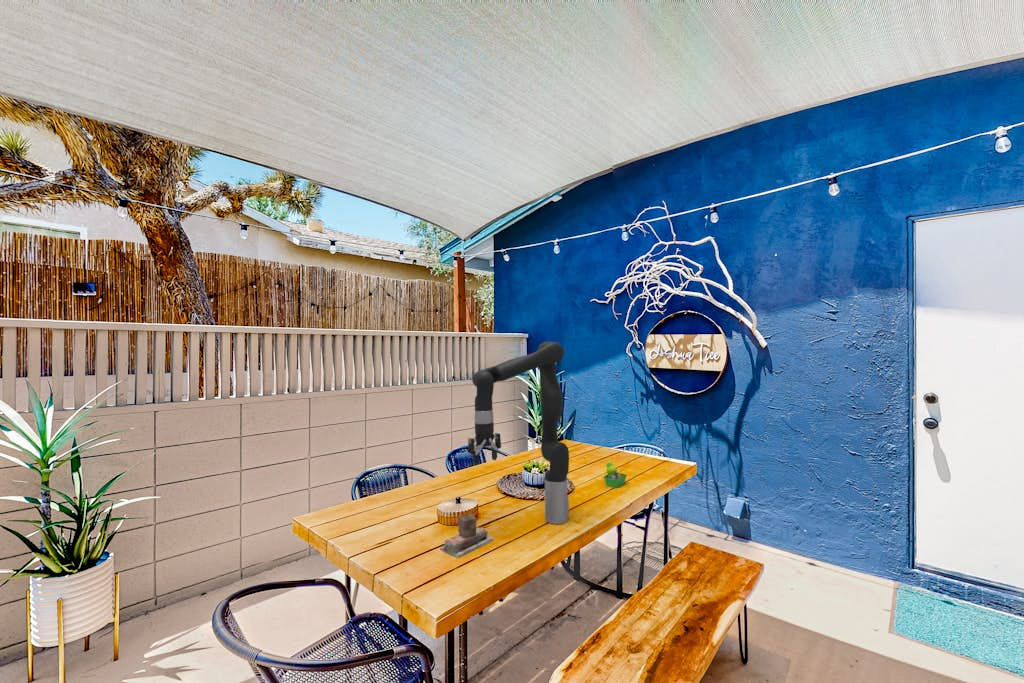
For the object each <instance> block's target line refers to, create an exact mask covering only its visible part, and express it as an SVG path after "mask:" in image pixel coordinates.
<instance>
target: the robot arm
mask: <svg viewBox="0 0 1024 683" xmlns="http://www.w3.org/2000/svg"><path fill="white" fill-rule="evenodd" d="M564 356H565V349H564V347H563V346H562V344H560V343H559V342H556V341H543V342H541V343H540V344H539V345H538V348H537V351H534V352H532V353H529V354H526V355H523V356H518V357H515V358H512V359H508V360H506V361H504V362H501V363H499V364H496V365H494V366H490V367H486V368H483V369H481V370H478V371H476V372H475V373H474V374H473V376H472V380H471V381H472V384H473V385H474V387H476V396H475V397H474V434H475V437H469V438H468V440H467V441H468V442H467V444H468V445H467V447H468V448H467V449H468V450H467V452H468V454H470V455H472V460H473V461H472V462H473V463H474V464H475V465H479V464H480V463H479V462H480V461H479V453H480V451H481V450H482V449H484V448H486V447H489V448H490V449H491V460H493V461H496V460H497V458H498V449H501V448H502V440H501V433H498V432H495V433H494V431H495V428H494V427H495V424H494V423H495V422H494V412H493V409H494V408H493V395H494V388H495V387H494V386H495V383H497V382H504V381H507V380H509V379H512V378H515V377H516V376H519V375H521V374H524V373H525V372H528V371H531V370H533V369H537V368H538V370H539V380H540V381H539V385H540V386H539V387H540V409H541V410H540V411H541V440H540V441H541V443H540V444H541V445H540V451H541V455H542V458H543V459H544V460H545V461H547V462H549V469H548V470H546V471H545V472H544V520H546V521H547V522H546V521H545V522H546V523H548V522H549V523H548V524H551V523H553V524H552V525H560V524H561V523H563V524H565V523H567V521H568V520H570V516H569V515H570V508H569V506H570V504H569V497H568V494H567V493H568V491H567V490H568V486H567V484H568V482H567V481H568V479H567V478H568V474H569V470H570V468H569V467H570V466H569V465H570V450H569V448H568V446H567V445H566V443H564V442H561V441H559V439H558V424H559V422H560V419H561V417H562V415H563V414H562V413H563V411H564V408H563V407H564V406H563V404H564V402H563V392H562V388H561V386H560V383H559V381H558V376H557V372H556V364H557V363H559V362H560V361H561V360H563V358H564ZM567 519H568V520H567ZM564 522H565V523H564ZM561 525H562V524H561Z"/></svg>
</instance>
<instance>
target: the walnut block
mask: <svg viewBox="0 0 1024 683" xmlns="http://www.w3.org/2000/svg"><path fill="white" fill-rule="evenodd" d="M457 526H458V527H457V528H458V534H461V536H462V537H463V538H465V537H469V536H474V535H476V527H477V518H476V517H475V516H474V515H473V513H467V514H462V515H459V516H458V525H457Z"/></svg>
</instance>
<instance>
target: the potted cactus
mask: <svg viewBox="0 0 1024 683" xmlns="http://www.w3.org/2000/svg"><path fill="white" fill-rule="evenodd" d="M606 473H607V474H606V475H603V479H604V482H605V486H606V487H609V488H612V487H613V489H616V488H619V487H621V486H623V485H625V483H626V479H627V477H628V476H627V474H625V473H621V472H618V467H616V466H615V465H614V464H613V463H612V462H607V464H606Z"/></svg>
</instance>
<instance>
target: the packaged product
mask: <svg viewBox="0 0 1024 683" xmlns="http://www.w3.org/2000/svg"><path fill="white" fill-rule="evenodd" d="M494 538H495V537H492V536H489V535H488V530H487V529H486V528H485V527H477V526H476V535H474V536H469V537H465V538H463V537H462V536H461V534H460V533H458V534H456V535H454V536H452V537H449V538H447V539H445V541H444V545H443V546H441V547H440V551H443V552H444V553H446V554H449V555H450V556H452V557H454V558H457V559H459V558H461V557H463V556H465V555H468V554H469V553H471V552H475V551H476V550H478V549H480V548H482V547H484V546H486V545H488V544H490V543H492V542H494Z"/></svg>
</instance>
